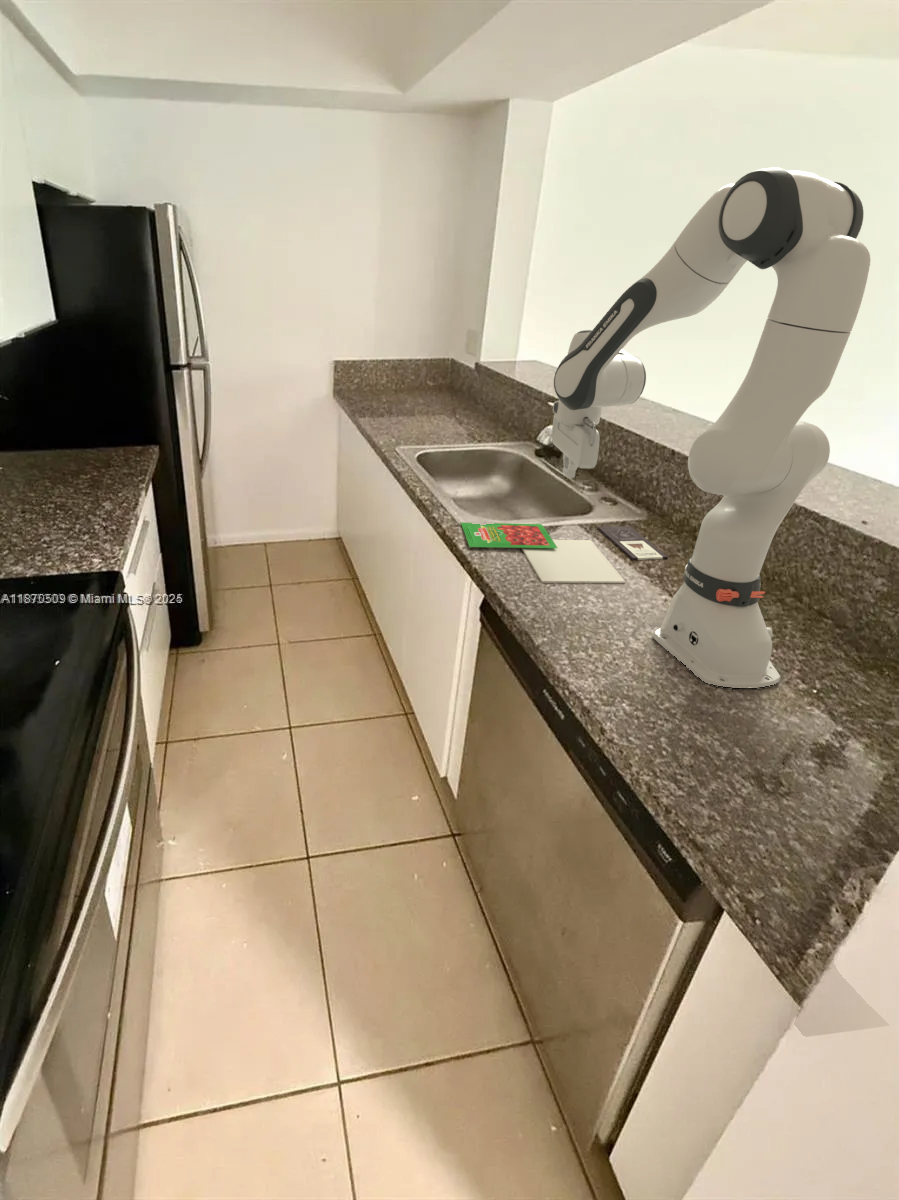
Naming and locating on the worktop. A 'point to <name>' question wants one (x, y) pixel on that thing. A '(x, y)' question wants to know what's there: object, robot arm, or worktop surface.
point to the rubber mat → (572, 563)
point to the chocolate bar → (632, 543)
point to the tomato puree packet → (507, 535)
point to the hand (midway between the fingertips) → (568, 476)
